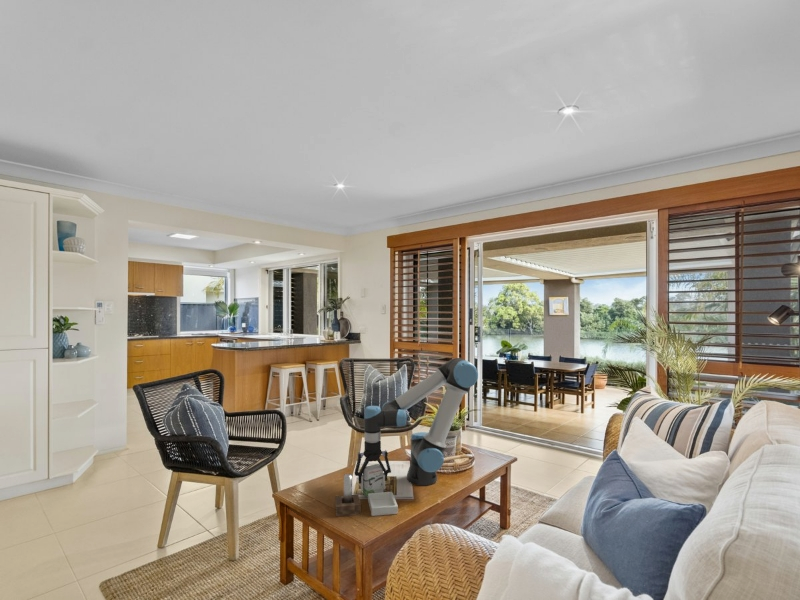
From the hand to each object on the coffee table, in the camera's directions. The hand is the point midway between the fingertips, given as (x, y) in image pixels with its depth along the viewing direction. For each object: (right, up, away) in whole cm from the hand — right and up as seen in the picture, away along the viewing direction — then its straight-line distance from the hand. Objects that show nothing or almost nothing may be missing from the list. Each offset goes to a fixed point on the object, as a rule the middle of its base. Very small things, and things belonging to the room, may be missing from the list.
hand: (373, 489), depth 195 cm
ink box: (0, -2, 0) cm, 2 cm away
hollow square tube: (-10, -2, -15) cm, 18 cm away
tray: (+5, -2, -12) cm, 13 cm away
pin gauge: (-10, -2, -15) cm, 18 cm away
